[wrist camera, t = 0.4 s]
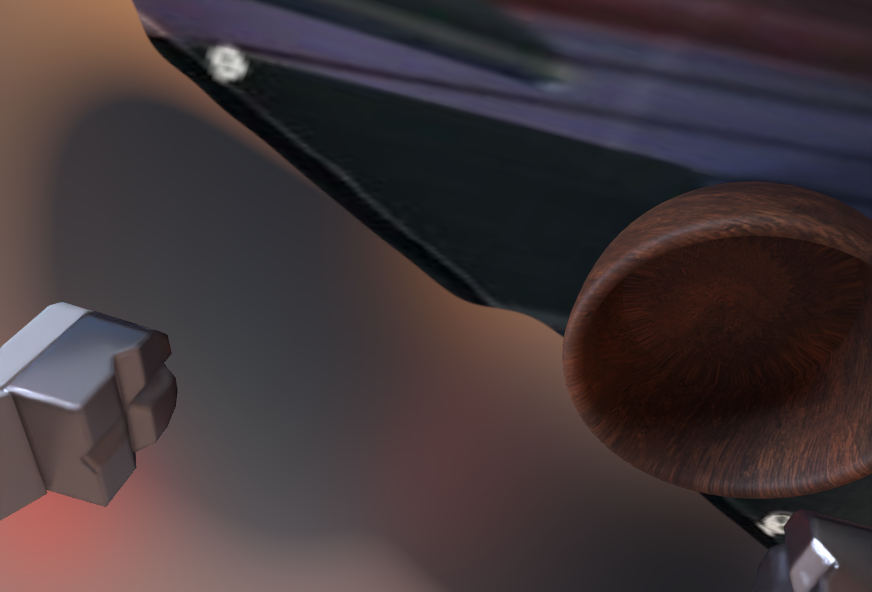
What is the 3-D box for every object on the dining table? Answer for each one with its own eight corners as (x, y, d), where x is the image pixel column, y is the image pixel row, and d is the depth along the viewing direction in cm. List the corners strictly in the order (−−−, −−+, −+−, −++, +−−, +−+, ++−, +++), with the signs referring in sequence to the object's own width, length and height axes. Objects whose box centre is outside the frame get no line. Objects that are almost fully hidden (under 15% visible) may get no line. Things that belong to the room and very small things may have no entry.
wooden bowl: (976, 344, 56) (1025, 442, 48) (676, 444, 69) (675, 533, 61) (821, 78, 48) (848, 142, 40) (518, 249, 62) (493, 322, 54)
